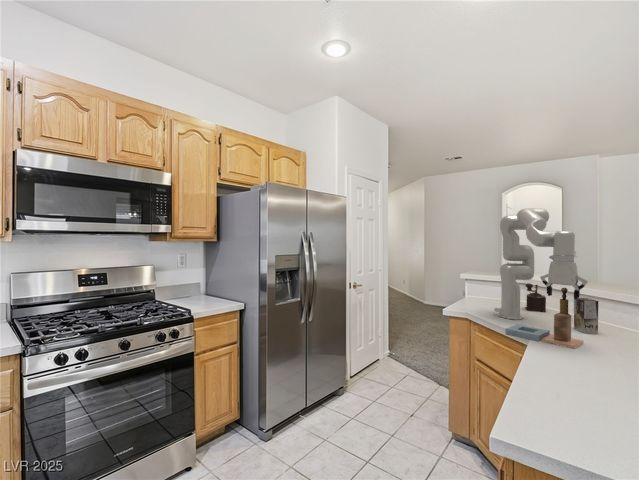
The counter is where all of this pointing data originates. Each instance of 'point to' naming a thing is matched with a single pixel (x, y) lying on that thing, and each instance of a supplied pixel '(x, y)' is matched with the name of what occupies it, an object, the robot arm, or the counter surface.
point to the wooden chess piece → (564, 302)
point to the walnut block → (562, 327)
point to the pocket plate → (527, 332)
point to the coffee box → (586, 315)
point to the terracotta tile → (572, 343)
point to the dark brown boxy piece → (535, 300)
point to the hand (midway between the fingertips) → (562, 297)
